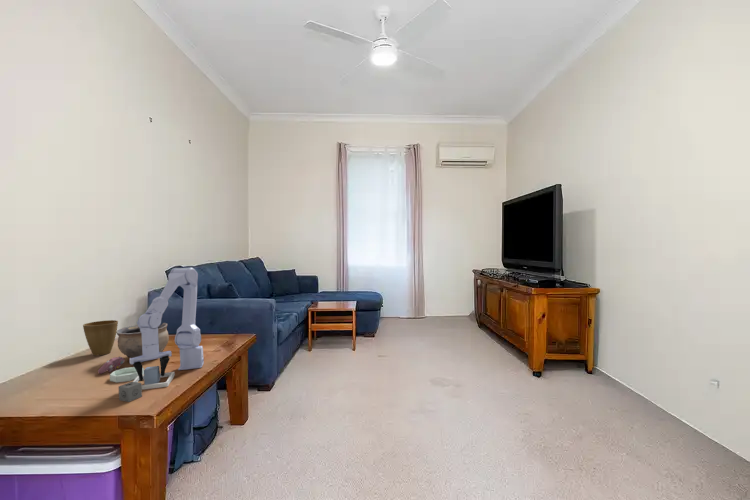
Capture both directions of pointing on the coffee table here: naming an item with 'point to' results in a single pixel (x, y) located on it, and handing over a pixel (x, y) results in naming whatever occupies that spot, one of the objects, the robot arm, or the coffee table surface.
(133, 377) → the ceramic dish
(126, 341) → the ceramic bowl
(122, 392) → the dice cube
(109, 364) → the video game controller
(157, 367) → the slate block
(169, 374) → the white flat frame piece
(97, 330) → the plant pot
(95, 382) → the coffee table surface
